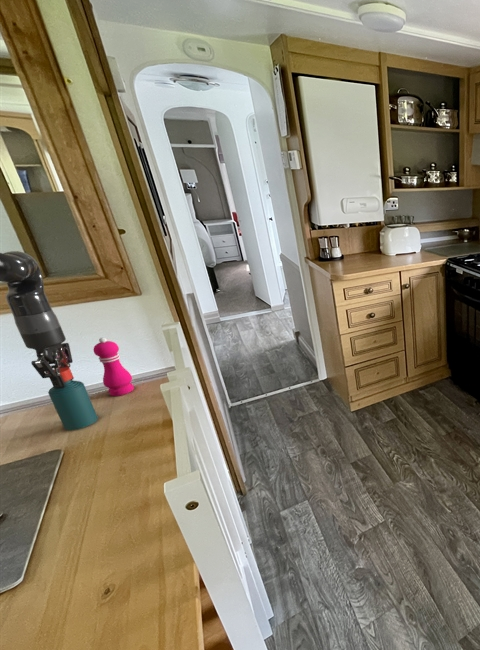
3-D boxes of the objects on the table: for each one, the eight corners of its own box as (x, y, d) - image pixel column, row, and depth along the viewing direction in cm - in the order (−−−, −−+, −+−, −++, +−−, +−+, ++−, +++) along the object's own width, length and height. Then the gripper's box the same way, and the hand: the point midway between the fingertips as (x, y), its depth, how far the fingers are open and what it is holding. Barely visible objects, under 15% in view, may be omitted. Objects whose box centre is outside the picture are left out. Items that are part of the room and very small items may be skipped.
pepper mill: (118, 386, 132) (98, 333, 124) (140, 385, 132) (122, 333, 125) (102, 397, 125) (80, 342, 117) (125, 396, 126) (105, 341, 118)
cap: (68, 381, 105) (64, 372, 104) (48, 384, 104) (44, 375, 103) (76, 374, 109) (72, 366, 108) (56, 377, 107) (52, 368, 106)
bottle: (59, 432, 107) (34, 380, 101) (71, 418, 114) (49, 369, 107) (91, 427, 110) (69, 375, 104) (102, 414, 116) (82, 364, 110)
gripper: (44, 335, 96) (70, 393, 102) (71, 317, 108) (92, 370, 114) (3, 339, 93) (32, 399, 99) (35, 321, 105) (59, 375, 111)
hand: (64, 383), depth 107 cm, fingers closed on cap, 4 cm apart
